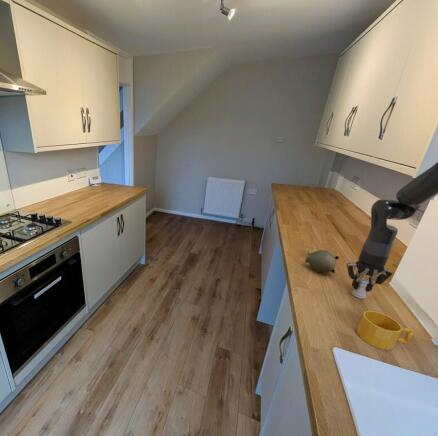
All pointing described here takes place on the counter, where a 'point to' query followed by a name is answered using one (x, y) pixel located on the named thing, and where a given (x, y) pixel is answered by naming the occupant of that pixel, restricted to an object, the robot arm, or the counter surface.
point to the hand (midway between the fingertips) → (360, 289)
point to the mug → (381, 330)
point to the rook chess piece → (361, 289)
